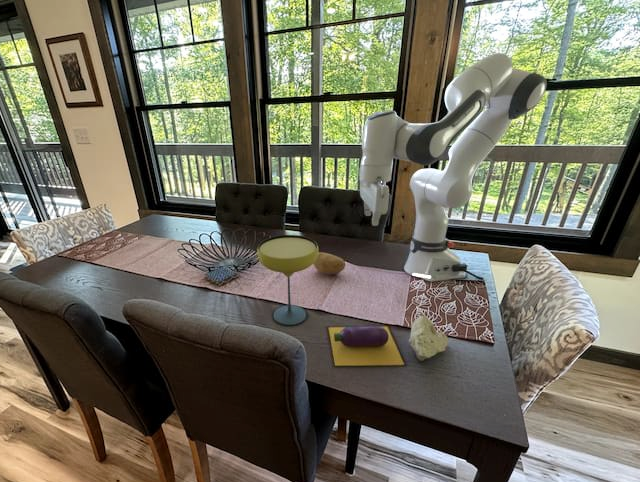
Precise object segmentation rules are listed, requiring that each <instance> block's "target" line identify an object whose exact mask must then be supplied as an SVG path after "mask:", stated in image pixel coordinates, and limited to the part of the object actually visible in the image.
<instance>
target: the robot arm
mask: <svg viewBox="0 0 640 482" xmlns="http://www.w3.org/2000/svg"><path fill="white" fill-rule="evenodd" d="M547 87H548V83H547V78H546V77H544V75H541V74H539V73H537V72H530V71H527V70H523V69H521V68H520V69H519V68H515V67H514V63H513V61H512V59H511V57H510V56H508V55H507V54H505V53H501V52H497V53H492V54H489V55H488V56H486V57H484V58H482V59H480V60H478V61H476V62H475V63H473V64H472V65H470V66H469V67H467V68H466V69H464V70H463V71H462V72H461V73H459V74H458V75H457V76H456V77H455V78H454V79H452V80H451V82H450V83H449V84H448V85H447V87H446V89H445V91H444V92H445V93H444V103H445V107H446V110H447V111H448V113H447V114H446V115H445V116H444V117H443V118H442V119H440V120H439V121H435V122H430V123H413V122H409V121H406V120H404V119H403V118H401V117H400V116H398V115H397V112H396V111H395V110H389V109H387V110H382V111H381V110H380V111H377V112H374V113H371V114H370V115H369V116H367V118H366V120H365V123H364V126H363V130H362V131H363V132H362V141H361V151H362V155H361V160H360V164H359V165H360V167H359V168H358V176H359V180H358V181H359V195H360V198H361V199H362V201H363V207H364V215H365V216H366V217H370V216H372V218H371V220H370V221H371V222H370V224H371V225H372V226H373V227H376V226H379V223H380V219H381V216H382V215H386V214H387V213H388V210H389V201H390V200H389V199H390V188H389V186H388V185H386V184H387V183H389V182H391V181H392V173H393V165H394V159H396V160H402V161H405V162H412V163H415V164H417V165H421V166H431V165H433V164H434V163H436V162H437V161H439V160H440V159H441V158H442V157H443V155H444V154H445V153H446V152H447V150H448V158H449V160H448V163H447V165H446V166H445V167H444V169H443V170H440V169H436V168H421V169H418V170H417V171H415V172H414V173H413V175H412V176H411V178H410V180H409V188H410V191H411V192H412V194H413V198H414V205H415V224H414V231H413V235H412V236H411V241H410V247H409V250H410V251H409V254H408V257H407V260H406V261H405V264H404V266H403V270H404V271H405V272H406V273H407V274H408V275H410V276H413V277H415V278H419V279H423V280H425V281H427V282H431V283H433V282H440V281H448V280H457V279H464V278H466V275H467V274H468V275H470V276H472V277H474V278H476V279H478V280H482V281H483V280H484V277H483V276H479V275H476V274H474V273H473V272H471V271H469V270H467V269H468V264H466V263H465V262H463V263H461V259H460V257H459V256H458V255H457V254H456V253H455V252H454V251H453V250H452V248H454V246H455V243H454V242H453V241H451V240H449V239H448V238H446V235H447V232H448V231H447V230H448V227H449V216H448V215H447V213H446V209H445V208H448V209H459V208H462V207H464V206H465V205H466V204H467V203H468V202H469V201H470V199H471V198H472V195H473V189H474V188H473V183H472V182H473V178H474V175H475V173H476V171H477V169H478V168H479V166H480V165H481V164H482V163H483V162H484V161H485V159H486V158H487V156H488V155H489V154H490V153H491V152H492V150H493V149H495V147H496V145H497V144H498V143H499V142H500V141H501V140H502V138H503V136H504V135H505V134H506V132H507V130H508V129H509V127H510V125H511V123H512V121H513V120H516V119H519V118H520V117H521V116H523V115H525V114H527V113H529V112H530V111H532V110H533V109H534V108H536V107H537V105H538V104H539V103H540V101H541V100H542V99H543V97H544V95H545V93H546V90H547ZM455 140H456V141H455ZM454 141H455V142H454ZM453 142H454V143H453ZM452 143H453V144H452ZM451 144H452V145H451ZM450 146H451V147H450ZM449 147H450V148H449ZM448 148H449V149H448Z"/></svg>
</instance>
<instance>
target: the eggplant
mask: <svg viewBox="0 0 640 482" xmlns="http://www.w3.org/2000/svg"><path fill="white" fill-rule="evenodd" d="M344 327H345V328H343V329H342V330H341V332H340V333H334V341H341V343H342V344H343V345H345V346H347V347H380V346H383V345H385V344H386V343H387V342H388V339H389V336H388V333H387V331H386V330H385V329H384V328H382V327H383V326H380V325H379V326H378V325H375V326H373V325H372V326H371V325H370V326H366V325H365V326H364V325H363V326H344Z"/></svg>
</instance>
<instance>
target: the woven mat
mask: <svg viewBox="0 0 640 482" xmlns="http://www.w3.org/2000/svg"><path fill="white" fill-rule="evenodd" d="M239 276H240V275H239V274H238V272H237V271H235V270H232V269H230V268H228V267H225V266H220V267H217V268H216V269H214V270H211V271H210V272H209V271H208V272H207V273H204V278H205V279H206V280H207V281H210V282H211V283H214V284H215V285H218V286H222V285H223V284H225V283H226V284H227V282H230V281H232V280H233V279H236V278H238V277H239Z"/></svg>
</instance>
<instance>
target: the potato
mask: <svg viewBox="0 0 640 482" xmlns="http://www.w3.org/2000/svg"><path fill="white" fill-rule="evenodd" d="M346 265H347V264H346V262H345V260H344V259H343V258H342V257H339V256H337V255H335V254H331V253H327V252H321V251H319V252H318V258H317V260H316V261H315V263H314V264H313V266H314V268H315V269H316V270H317V271H318V272H321V273H323V274H324V275H337V274H339V273H341V272H342V271H343V270H344V269H345V268H346Z"/></svg>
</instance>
